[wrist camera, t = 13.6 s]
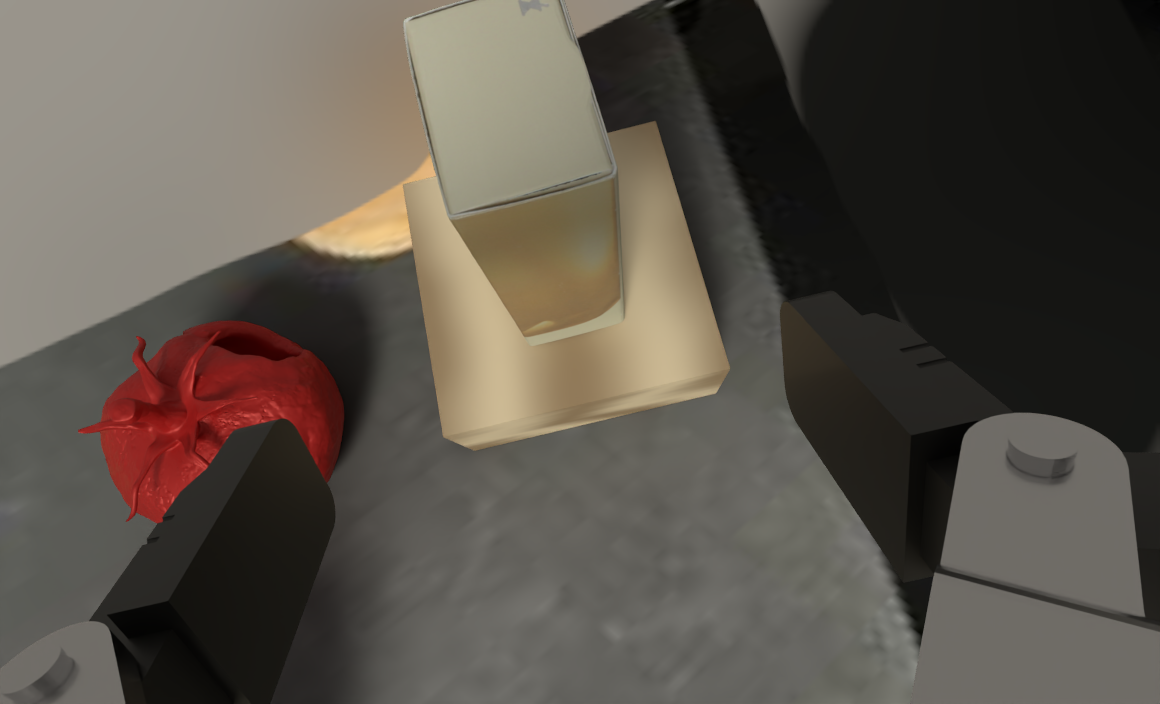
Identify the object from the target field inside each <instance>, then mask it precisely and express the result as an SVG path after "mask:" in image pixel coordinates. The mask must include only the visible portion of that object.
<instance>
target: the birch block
mask: <svg viewBox="0 0 1160 704" xmlns="http://www.w3.org/2000/svg"><path fill="white" fill-rule="evenodd" d="M607 134H608V138H609V141H610V144H611V148H612V151H613V154H614V157H615V161H616V164H617V167H618V181H619V203H620V227H621V245H622V268H623V290H624V309H625V319H624V321H622V322H621V323H619V324H616V325H612V326H609V327H605V328H602V329H598V330H594V331H591V332H587V333H584V334H580V335H576V336H572V337H568V338H564V339H560V340H556V341H552V342H548V343H544V344H540V345H536V346H530V345H529V344H528V343H527V341H526V340H525V338H524V336H523V334H522V333H521V331H520V330H519V328H518V327H517V325H516V323H515V321H514V320H513V318H512V317H511V315H510V314H509V312H508V311H507V309H506V308H505V306H504V304H503V303H502V301H501V300H500V298H499V296H498V295H497V293H496V291H495V290H494V288H493V287H492V285H491V284H490V282H489V281H488V279H487V278H486V276H485V274H484V273H483V271H482V270H481V268H480V267H479V265H478V263H477V262H476V260H475V259H474V257H473V256H472V254H471V252H470V251H469V249H468V248H467V246H466V244H465V243H464V241H463V240H462V238H461V236H460V235H459V233H458V232H457V230H456V229H455V227H454V226H453V224H452V223H451V221H450V220H449V218H448V216H447V213H446V209H445V205H444V202H443V198H442V195H441V191H440V188H439V185H438V181H437V177H436V176H435V177H431V178H427V179H423V180H419V181H415V182H411V183H407V184H403V189H404V196H405V202H406V208H407V214H408V220H409V227H410V233H411V239H412V245H413V251H414V258H415V264H416V270H417V276H418V283H419V289H420V295H421V301H422V307H423V314H424V320H425V326H426V332H427V338H428V345H429V351H430V357H431V363H432V369H433V376H434V382H435V388H436V394H437V400H438V407H439V413H440V419H441V425H442V431H443V437H444V438H447V439H449V440H451V441H454V442H456V443H458V444H460V445H463V446H465V447H467V448H470V449H472V450H474V451H475V450H479V449H484V448H488V447H492V446H496V445H500V444H505V443H509V442H513V441H517V440H522V439H526V438H530V437H534V436H538V435H543V434H547V433H551V432H555V431H559V430H564V429H568V428H572V427H576V426H580V425H585V424H589V423H593V422H597V421H601V420H606V419H610V418H614V417H618V416H622V415H627V414H631V413H635V412H639V411H644V410H648V409H652V408H656V407H660V406H665V405H669V404H673V403H677V402H681V401H686V400H690V399H694V398H698V397H702V396H707V395H711V394H715V393H716V392H717V391H718V389H719V387H720V385H721V384H722V382H723V380H724V378H725V377H726V375H727V373H728V371H729V370H730V366H729V363H728V360H727V356H726V353H725V350H724V346H723V343H722V340H721V336H720V333H719V330H718V326H717V323H716V320H715V316H714V313H713V310H712V306H711V303H710V300H709V297H708V293H707V290H706V287H705V283H704V280H703V277H702V273H701V270H700V267H699V263H698V260H697V257H696V253H695V250H694V247H693V243H692V240H691V237H690V233H689V230H688V227H687V223H686V220H685V217H684V213H683V210H682V207H681V203H680V200H679V197H678V193H677V190H676V187H675V183H674V180H673V177H672V174H671V170H670V167H669V164H668V160H667V157H666V154H665V150H664V147H663V144H662V140H661V137H660V134H659V130H658V127H657V124H656V121H653V122H649V123H645V124H641V125H637V126H633V127H629V128H625V129H621V130H617V131H613V132H609V133H607Z"/></svg>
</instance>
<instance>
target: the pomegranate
mask: <svg viewBox="0 0 1160 704" xmlns="http://www.w3.org/2000/svg"><path fill="white" fill-rule="evenodd" d="M136 337H137V339H138V340H139V345H138V346H137V348H136V349H135V351H134V353H133V356H132V360H133V362H134V363H135V365H136V366H137V368H138V369H139V370H138V371H137V372H136V373H134V374H133V375H132V376H131V377H129V378H128V379H127V380H126V381H125V382H124V383H122V384H121V385H120V386H118V388H117V389H116V390H115V391H114V392H113V393H112V395H111V396H110V397H109V398H108V399H107V400H106V402H105V405H104V407H103V411H102V418H101V422H99V423H97V424H95V425H91V426H89V427H86V428H82V429H80V430H78V432H80V433H94V432H100V434H101V445H102V449H103V452H104V454H105V457H106V461H107V464H108V468H109V472H110V475H111V477H112V480H113V482H114V484H115V485H116V487H117V488H118V490H119V491H120V492H121V494H122V497H123V499H124V501H125V502H126V503H127V504H128V505H129V506H130V508H131V513H130V516H129V518H128V519H127V520H126V522H127V521H129V520H130V519H131V518H132V517H134V515H135V514H136V513H138V514H140V515H142V516H145V517H146V518H149V519H150V520H152V521H154V522H156V523H160V522H163V519H162V517H163V516H164V514H165V513H166V511H167V510H168V509H169V507H170V506H171V504H172V503H173V501H174V500H175V499H176V497H177V496H178V494H179V493H180V492H181V491H182V490H183V489H184V488H185V487H186V486H187V485H189V484H190V483H191V482H192V481H193V480H194V479H195V478H196V477H198V476H199V475H200V474H201V473H202V472H203V471H204V470H205V469H207V467H208V466H209V465H210V463H211V462H212V460H213V459H214V457H215V456H216V454H217V453H218V451H219V450H220V449H221V447H222V446H223V444H224V443H225V441H226V440H227V438H228V437H229V435H230V434H231V433H232V432H233V431H234V430H236V429H239V428H243V427H247V426H251V425H256V424H260V423H264V422H269V421H273V420H277V419H287V420H289V421H290V422H291V423H293V424H294V426H295V427H296V428H297V430H298V432H299V434H300V435H301V437H302V439H303V441H304V443H305V445H306V446H307V448H308V450H309V452H310V454H311V455H312V457H313V459H314V461H315V463H316V465H317V466H318V468H319V470H320V472H321V474H322V476H323V477H324V479H325V481H326V483H327V482H328V481H329V479H330V477H331V475H332V473H333V470H334V467H335V464H336V461H337V458H338V455H339V450H340V444H341V441H342V434H343V424H344V405H343V400H342V397H341V395H340V392H339V390H338V387H337V385H336V382H335V380H334V378H333V377H332V375H331V374H330V372H329V370H328V368H327V367H326V366H325V365H324V363H323V362H322V361H321V360H320V359H318V358H317V357H316V356H315V355H314V354H313V353H312V352H311V351H308V350H305V349H303V348H302V347H301V346H300V345H298V344H297V343H294V342H292V341H291V340H289V339H286V338H285V337H282V336H280V335H278V334H277V333H275V332H273V331H271V330H269V329H267V328H265V327H262V326H259V325H255V324H253V323H249V322H244V321H215V322H210V323H206V324H202V325H198V326H195V327H192V328H189V329H187V330H185V331H183V335H181V336H177V337H174V338H172V339H170V340H169V341H167V342H166V343H165V344H164V345H163V347H162V348H161V349H160V350H159V351H158V353H157V354H156V355H155V356H154V357H153V358H152V359H151V360H150V361H149V362H147V363H146V362H145V360H144V358H143V351H144V349H145V346H146V342H145V340H144V339H142V338H141V337H139V336H136Z"/></svg>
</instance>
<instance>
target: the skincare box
mask: <svg viewBox="0 0 1160 704" xmlns="http://www.w3.org/2000/svg"><path fill="white" fill-rule="evenodd" d="M403 29H404V34H405V43H406V48H407V54H408V60H409V65H410V71H411V75H412V81H413V84H414V89H415V94H416V98H417V102H418V106H419V111H420V115H421V119H422V123H423V127H424V132H425V136H426V140H427V143H428V147H429V151H430V155H431V159H432V163H433V166H434V170H435V173H436V177H437V181H438V185H439V188H440V191H441V195H442V198H443V202H444V205H445V209H446V213H447V216H448V218H449V220H450V221H451V223H452V224H453V226H454V227H455V229H456V230H457V232H458V233H459V235H460V236H461V238H462V240H463V241H464V243H465V244H466V246H467V248H468V249H469V251H470V252H471V254H472V256H473V257H474V259H475V260H476V262H477V263H478V265H479V267H480V268H481V270H482V271H483V273H484V274H485V276H486V278H487V279H488V281H489V282H490V284H491V285H492V287H493V288H494V290H495V291H496V293H497V295H498V296H499V298H500V300H501V301H502V303H503V304H504V306H505V308H506V309H507V311H508V312H509V314H510V315H511V317H512V318H513V320H514V321H515V323H516V325H517V327H518V328H519V330H520V331H521V333H522V334H523V336H524V338H525V340H526V341H527V343H528V344H529V345H530V346H536V345H540V344H544V343H548V342H552V341H556V340H560V339H564V338H568V337H572V336H576V335H580V334H584V333H587V332H591V331H594V330H598V329H602V328H605V327H609V326H612V325H616V324H619V323H621V322H622V321H624V319H625V309H624V290H623V268H622V245H621V227H620V203H619V181H618V167H617V164H616V161H615V157H614V154H613V151H612V148H611V144H610V141H609V138H608V134H607V131H606V128H605V125H604V122H603V118H602V115H601V112H600V108H599V105H598V102H597V99H596V96H595V93H594V89H593V86H592V83H591V80H590V77H589V74H588V71H587V68H586V65H585V62H584V59H583V56H582V53H581V50H580V47H579V44H578V41H577V38H576V35H575V32H574V29H573V25H572V22H571V19H570V16H569V13H568V10H567V7H566V4H565V1H564V0H462V1H459V2H456V3H452V4H449V5H445V6H443V7H439V8H436V9H433V10H430V11H428V12H425V13H422V14H419V15H415V16H411V17H408V18H406V19H405V20H404V22H403Z"/></svg>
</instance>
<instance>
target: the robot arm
mask: <svg viewBox="0 0 1160 704" xmlns="http://www.w3.org/2000/svg"><path fill="white" fill-rule="evenodd" d="M780 323H781V337H782V352H783V366H784V381H785V390H786V395H787V400H788V403H789V406H790V409H791V412H792V414H793V417H794V419H795V421H796V423H797V424H798V426H799V427H800V429H801V430H802V432H803V433H804V435H805V436H806V438H807V439H808V441H809V442H810V444H811V445H812V447H813V448H814V450H815V451H816V453H817V454H818V456H819V457H820V459H821V460H822V462H823V463H824V465H825V466H826V468H827V469H828V471H829V472H830V474H831V475H832V477H833V478H834V480H835V481H836V483H837V484H838V486H839V487H840V489H841V490H842V491H843V493H844V494H845V496H846V497H847V499H848V500H849V502H850V503H851V505H852V506H853V508H854V509H855V511H856V512H857V514H858V515H859V517H860V518H861V520H862V521H863V523H864V524H865V526H866V527H867V529H868V530H869V532H870V533H871V535H872V536H873V538H874V539H875V541H876V542H877V544H878V545H879V547H880V548H881V550H882V551H883V553H884V554H885V556H886V557H887V559H888V560H889V562H890V563H891V565H892V566H893V568H894V569H895V571H896V572H897V574H898V575H899V577H900V578H901V580H902V581H903V583H904V582H908V581H913V580H917V579H922V578H927V577H931V576H934V578H933V583H932V588H931V594H930V599H929V604H928V610H927V615H926V621H925V626H924V631H923V637H922V642H921V648H920V653H919V659H918V664H917V669H916V675H915V680H914V686H913V691H912V696H911V702H910V704H1160V453H1127V452H1121V451H1120V450H1119V448H1118V447H1117V446H1116V445H1115V444H1114V443H1112V442H1111V441H1110V440H1109V439H1107V438H1106V437H1104V436H1103V435H1101V434H1100V433H1098V432H1096V431H1094V430H1093V429H1090V428H1088V427H1086V426H1084V425H1081V424H1079V423H1076V422H1073V421H1070V420H1067V419H1063V418H1059V417H1055V416H1049V415H1043V414H1034V413H1014V412H1012V411H1011V410H1010V409H1009V408H1008V407H1006V406H1005V405H1004V404H1003V403H1001V402H1000V401H999V400H998V399H997V398H995V397H994V396H993V395H992V394H990V393H989V392H988V391H987V390H986V389H984V388H983V387H982V386H981V385H979V384H978V383H977V382H976V381H974V380H973V379H972V378H971V377H970V376H968V375H967V374H966V373H965V372H963V371H962V370H961V369H960V368H959V367H957V366H956V365H955V364H953V363H952V362H947V360H946V357H945V356H943V354H941V353H940V352H939V351H938V350H936V349H935V348H934V347H933V346H931V347H929V346H928V342H927V341H925V340H924V339H923V338H922V337H920V336H919V335H918V334H917V333H916V332H914V331H913V330H912V329H911V328H909V327H908V326H907V325H905V324H903V323H900V322H897V321H895V320H892V319H889V318H886V317H884V316H881V315H878V314H876V313H872V314H867V315H863V316H861V315H860V314H859V313H858V312H857V311H856V310H855V309H854V308H852V307H851V306H850V305H849V304H848V303H847V302H846V301H845V300H843V299H842V298H841V297H840V296H839V295H838V294H837V293H835V292H834V291H828V292H823V293H819V294H815V295H811V296H806V297H802V298H798V299H794V300H789V301H785V302H783V303H782V305H781V310H780ZM162 519H163V522H160V523H158V524H157V526H156V527H155V528H154V530H153V531H152V533H151V534H150V535H149V537H148V538H147V544H146V545H142V547H141V548H140V550H139V551H138V552H137V554H136V555H135V557H134V558H133V559H132V561H131V562H130V564H129V565H128V567H127V568H126V569H125V571H124V572H123V574H122V575H121V576H120V578H119V579H118V581H117V582H116V583H115V585H114V586H113V588H112V589H111V591H110V592H109V593H108V595H107V596H106V598H105V599H104V600H103V602H102V603H101V605H100V606H99V608H98V609H97V610H96V612H95V613H94V615H93V616H92V617H91V619H90V620H89V622H81V623H77V624H73V625H70V626H68V627H65V628H62V629H60V630H58V631H56V632H53V633H51V634H49V635H48V636H46V637H44V638H42V639H40V640H39V641H37V642H35V643H34V644H32V645H31V646H29V647H28V648H26V649H25V650H23V651H22V652H21V653H19V654H18V655H17V656H15V657H14V658H13V659H12V660H11V661H9V662H8V663H7V664H6V665H5V666H3V667H2V668H1V669H0V704H270V702H271V699H272V697H273V694H274V691H275V688H276V685H277V683H278V680H279V677H280V674H281V672H282V669H283V666H284V663H285V661H286V658H287V655H288V652H289V650H290V647H291V644H292V641H293V639H294V636H295V633H296V630H297V627H298V625H299V622H300V619H301V616H302V614H303V611H304V608H305V605H306V603H307V600H308V597H309V594H310V592H311V589H312V586H313V583H314V580H315V578H316V575H317V572H318V569H319V567H320V564H321V561H322V558H323V556H324V553H325V550H326V547H327V545H328V542H329V539H330V536H331V533H332V531H333V528H334V523H335V505H334V500H333V496H332V493H331V491H330V488H329V486H328V485H327V483H326V481H325V479H324V477H323V476H322V474H321V472H320V470H319V468H318V466H317V465H316V463H315V461H314V459H313V457H312V455H311V454H310V452H309V450H308V448H307V446H306V445H305V443H304V441H303V439H302V437H301V435H300V434H299V432H298V430H297V428H296V427H295V426H294V424H293V423H291V422H290V421H289V420H287V419H277V420H273V421H269V422H264V423H260V424H256V425H251V426H247V427H243V428H239V429H236V430H234V431H233V432H232V433H231V434H230V435H229V437H228V438H227V440H226V441H225V443H224V444H223V446H222V447H221V449H220V450H219V451H218V453H217V454H216V456H215V457H214V459H213V460H212V462H211V463H210V465H209V466H208V467H207V469H205V470H204V471H203V472H202V473H201V474H200V475H199V476H198V477H196V478H195V479H194V480H193V481H192V482H191V483H190V484H189V485H187V486H186V487H185V488H184V489H183V490H182V491H181V492H180V493H179V494H178V496H177V497H176V499H175V500H174V501H173V503H172V504H171V506H170V507H169V509H168V510H167V511H166V513H165V514H164V516H163V517H162Z"/></svg>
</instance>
